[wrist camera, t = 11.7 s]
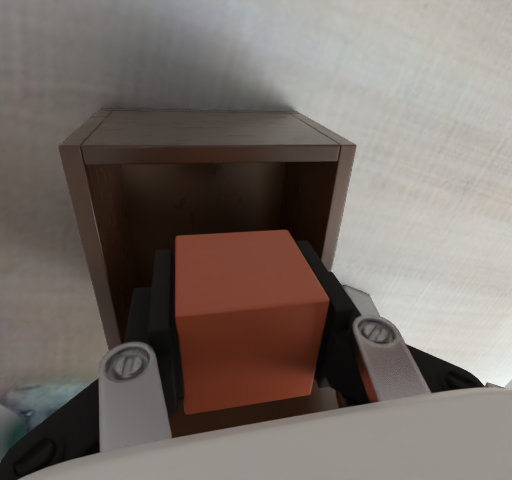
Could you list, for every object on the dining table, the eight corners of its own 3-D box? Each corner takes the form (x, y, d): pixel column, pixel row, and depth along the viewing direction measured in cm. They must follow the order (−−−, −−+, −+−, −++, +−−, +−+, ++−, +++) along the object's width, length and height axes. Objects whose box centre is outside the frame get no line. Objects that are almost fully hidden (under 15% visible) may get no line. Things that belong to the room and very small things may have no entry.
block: (182, 322, 13) (184, 416, 10) (175, 234, 11) (174, 315, 8) (278, 311, 14) (311, 396, 11) (287, 228, 12) (331, 299, 9)
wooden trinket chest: (100, 107, 20) (57, 145, 13) (298, 111, 23) (357, 144, 15) (133, 295, 28) (117, 388, 20) (279, 282, 30) (313, 360, 23)
